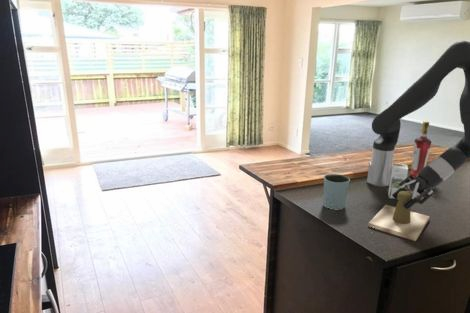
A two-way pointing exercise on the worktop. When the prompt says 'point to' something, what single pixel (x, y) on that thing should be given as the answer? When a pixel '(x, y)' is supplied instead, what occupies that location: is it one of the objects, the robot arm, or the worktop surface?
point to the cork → (402, 208)
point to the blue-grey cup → (335, 190)
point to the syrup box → (397, 178)
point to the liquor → (420, 151)
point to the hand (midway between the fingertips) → (399, 202)
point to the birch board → (388, 225)
